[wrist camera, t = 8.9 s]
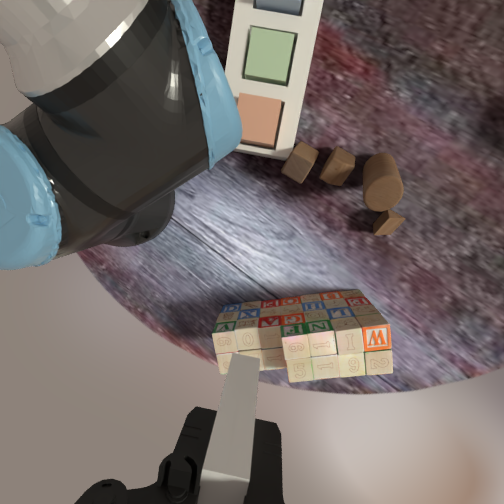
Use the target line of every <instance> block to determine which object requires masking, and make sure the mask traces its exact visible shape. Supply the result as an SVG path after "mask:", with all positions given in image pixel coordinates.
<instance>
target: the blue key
mask: <svg viewBox="0 0 504 504" xmlns="http://www.w3.org/2000/svg"><path fill="white" fill-rule="evenodd" d="M256 6H257V9H260V10H266V11H271V12H277V13H283V14H289V15H295V16H299V11H300V6H301V0H256Z"/></svg>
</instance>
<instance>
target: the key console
mask: <svg viewBox="0 0 504 504" xmlns="http://www.w3.org/2000/svg"><path fill="white" fill-rule="evenodd" d="M322 5H323V0H301V6H300V11H299V16H295V15H289V14H283V13H277V12H271V11H266V10H260V9H257V6H256V0H235V7H234V14H233V21H232V27H231V34H230V41H229V48H228V55H227V61H226V68H225V75H226V78H227V80H228V83H229V86H230V88H231V91H232V94H233V96H234V99H235V102H236V105H238V99H239V93H245V94H251V95H257V96H262V97H268V98H273V99H279V100H282V101H281V111H280V116H279V121H278V126H277V132H276V137H275V142H274V147H273V148H268V147H262V146H257V145H251V144H246V143H241V142H240V143H239V145H238V146H237V147H236V148H235V149H234V150H233V151H236V152H241V153H246V154H252V155H257V156H263V157H268V158H273V159H279V160H284V161H286V160H287V158H288V157H289V155H290V153H291V152H292V150H293V146H294V141H295V136H296V132H297V127H298V122H299V117H300V112H301V107H302V102H303V97H304V93H305V88H306V83H307V78H308V73H309V68H310V63H311V58H312V54H313V49H314V44H315V39H316V34H317V29H318V24H319V20H320V15H321V10H322ZM252 27H255V28H261V29H267V30H273V31H279V32H285V33H291V34H294V42H293V50H292V55H291V60H290V65H289V71H288V76H287V81H286V86H280V85H275V84H269V83H263V82H258V81H252V80H246V77H245V68H246V62H247V56H248V50H249V43H250V37H251V31H252Z"/></svg>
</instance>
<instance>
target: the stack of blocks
mask: <svg viewBox="0 0 504 504" xmlns="http://www.w3.org/2000/svg"><path fill="white" fill-rule="evenodd" d="M212 337H213V342H214V347H215V352H216V355H217V361H218V365H219V370H220V374H227V372H228V368H229V365H230V361H231V357H232V353H237V354H241V355H246V356H251V357H256V358H260V368H259V371H262V370H273V369H281V368H286V367H287V372H288V378H289V382H300V381H310V380H314V379H326V378H335V377H351V376H361V375H365V374H366V375H377V374H389V373H393V364H392V350H391V333H390V324H389V323H388V322H387V321H386V320H385V319H384V318H383V316H382V315H381V313H380V312H379V311H378V310H377V309H376V308H375V307H374V306H373V305H372V304H371V303H370V301H369V300H368V299H367V298H366V297H365V296H364V294H363V293H362V292H361V291H360V290H349V291H340V292H339V291H335V292H327V293H319V294H308V295H301V296H298V297H289V298H281V299H275V300H266V301H253V302H244V303H237V304H229V305H223V308H222V310H221V312H220V314H219V316H218V318H217V321H216V324H215V327H214V329H213V332H212Z"/></svg>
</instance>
